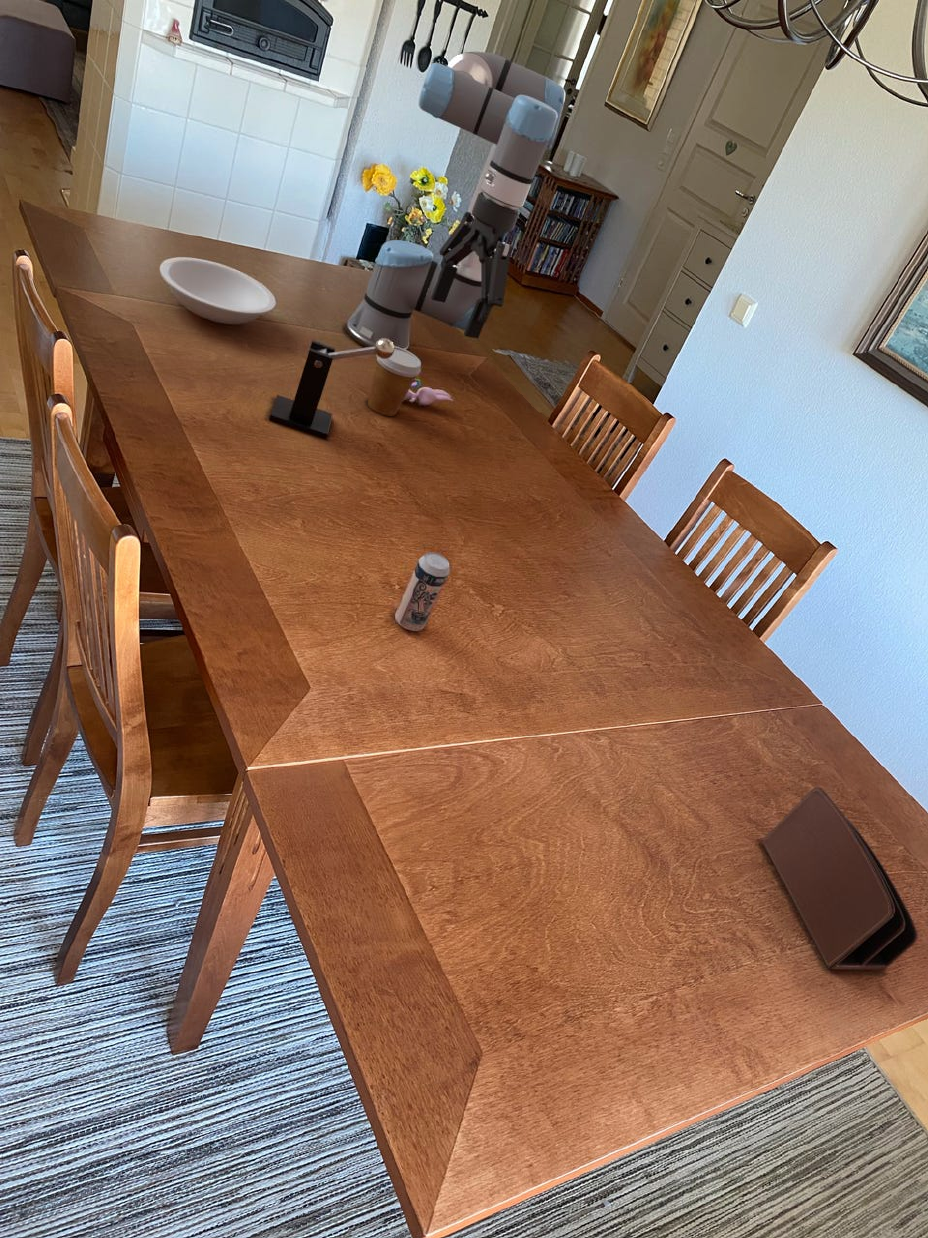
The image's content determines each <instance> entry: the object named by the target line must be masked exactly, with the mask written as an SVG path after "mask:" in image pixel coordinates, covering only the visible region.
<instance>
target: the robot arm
mask: <svg viewBox="0 0 928 1238" xmlns="http://www.w3.org/2000/svg"><path fill="white" fill-rule="evenodd" d="M565 100H566V91H565V89H564V87H563V86H562V85H560V84H558V83H557V82H555V81H554V80H552V79H550V78H549V77H547V76H544V75H542V74H540V73H538V72H536V71H534V70H531V69H529V68H527V67H525V66H523V65H520V64H518V63H515V62H513V61H511V60H509V59H507V58H505V57H504V56H501V55H499V54H495V53H491V52H483V51H465V52H461V53H459V54H457V55H456V56H454V57H453V58H452V59H451V60H450V61H449V63H448V64H447V65H444V64H442V63H439V62H433V63H432V64H431V65H430V67H428V70H427V74H426V76H425V79H424V81H423V85H422V87H421V91H420V94H419V99H418V106H419V109H421V110H422V111H423V112H425V113H427V114H428V115H431V116H432V117H433V118H435V119H439V120H442V121H444V122H446V123H449V124H450V125H452V126H455V127H458V128H459V129H462V130H464V131H466V132H469V133H471V134H473V135H475V136H476V137H479V138H481V139H483V140H484V141H487V142H489V143H492V145H491V148H490V151H489V154H488V156H487V158H486V162H485V164H484V167H483V169H482V172H481V175H480V178H479V180H478V183H477V185H476V188H475V191H474V194H473V196H472V199H471V201H470V204H469V207H468V209H467V211H465V212H464V214H463V216H462V218H461V221H460V222H459V223H458V225H457V226H456V228H455V229H454V230H453V232H452V233H451V234H450V235H449V237H448V238H447V239H446V241H445V242H444V244H443V245H442V246H441V248H440V249H439V255H440V256H442V259H441V262H437V261H435V260H433V259H434V254H433V252H432V251H431V250H430V249H429V248H426V247H425V246H423V245H421V244H418V243H415V242H411V241H406V240H400V239H392V240H388V241H385V242H384V243H383V244H382V245H381V247H380V249H379V252H378V255H377V257H376V258H375V262H374V263H375V264H374V267H373V269H372V273H371V276H370V278H369V281H368V285H367V288H366V291H365V293H364V297H363V299H362V301H361V302H360V303H359V305H358V306H357V308H356V309H355V310H354V312H353V313H352V314H351V316H350V317H349V319H348V320H347V323H346V326H345V331H346V333H347V335H348V336H349V338H351V340H353V341H354V342H356V343H357V344H359V345H361V346H362V347H363V348H367V347H374V346H375V344H376V342H377V341H378V340H379V339H382V338H387V339H389V340H391V341H392V343H393V344H394V346H396V347H399V348H402V349H405V350H407V351H408V348H409V346H410V332H411V331H410V329H411V327H410V326H411V317H412V315H413V311H415V312H419V313H420V314H423V315H426V316H427V317H430V318H432V319H435V320H437V321H439V322H442V323H444V324H447V325H448V326H449V327H454V328H457V329H460V330H462V331H464V332H463V336H464V337H467V338H472V339H479V338H480V335H481V333H482V331H483V329H484V325H485V323H486V322H487V321H488V319H489V316H490V314H491V311H492V309H493V307H499V308H501V307H503V305H504V300H505V294H506V287H507V280H508V279H507V278H508V272H509V266H510V265H509V264H510V260H511V256H512V253H513V250H514V246H513V245H512V244H508V243H505V242H504V240H505V239H504V238H505V235H507V234H508V233H511V232H512V231H513V230H514V229H515V226H516V223H517V220H518V218H519V215H520V208H522V207H523V206H524V204H525V201H526V200H527V196H528V194H529V192H530V189H531V187H532V185H533V180H534V178H535V175H536V173H537V170H538V168H539V166H540V164H541V161H542V159H543V157H544V154H545V152H546V151H547V150H549V151H550V150H551V149H552V147H553V145H554V141H555V139H556V135H557V131H558V127H559V125H560V121H561V117H562V112H563V108H564V105H565V104H564V103H565Z"/></svg>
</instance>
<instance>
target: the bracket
mask: <svg viewBox="0 0 928 1238" xmlns="http://www.w3.org/2000/svg"><path fill="white" fill-rule="evenodd" d="M321 349H327V353H334V352H336V348H335V347H333V346H330V345H327V344H325V343H323V342H322V343H321V342H319V341H316V340H314V339H313V340H311V344H310V347H309V350H308V352H307V357H306V359H305V363H304V366H303V369H302V373H301V376H300V380H299V383H298V386H297V389H296V392H295V396H294V398H293V399H291V398H288V397H285V396H282V395H280V394H277V395H276V397H275V400H274V403H273V406H272V409H271V412H270V415H269V418H268V421H271V422H273V423H276V424H279V425H282V426H285V427H288V428H291V429H294V430H296V431H299V432H303V433H305V434H308V435H311V436H314V437H316V438H320V439H323V440H327V438H328V435H329V431H330V426H331V422H332V417H333V413H331V412H328V411H326V410H323V409H319V408H318V407H319V404H320V401H321V396H322V394H323V392H324V388H325V385H326V382H327V380H328V376H329V372H330V370H331V366H332V363H333V361H334V360H333V356H330V355H327V354H324V353H322V352H319V351H316V350H321Z"/></svg>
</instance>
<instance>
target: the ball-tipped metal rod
mask: <svg viewBox="0 0 928 1238" xmlns="http://www.w3.org/2000/svg"><path fill="white" fill-rule="evenodd" d="M316 351H319V352H322V353H324V354H327V355H330V356H333V361H335V360H341V359H348V358H355V357H361V356H368V355H376V357H377V356H378V357H380V358H382V359H387V358H389V357H391V356H392V355H393V353H394V344H393V343H392V341H391V340H389V339H387V338H382V339H379V340H378V341H377V342H376V344H375V346H374V347H367V348H366V347H362V348H356V349H355V348H354V349H347V350H342V351H335V352H334V353H327V349H321V350H316Z"/></svg>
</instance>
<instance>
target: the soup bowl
mask: <svg viewBox="0 0 928 1238" xmlns="http://www.w3.org/2000/svg"><path fill="white" fill-rule="evenodd" d="M159 273H160V276H161V278H163V280H164V281H165V282H166V283H167V284H168V287H169V289H170V291H171V292H172V294H173V296H174V297H175V298H176V300H177V301H178V302H179V303H180V304H181V305H182V306H183V307H184V308H185V309H187V310H188V311H190V312H191V313H193V314H195V315H196V316H199V317H201V318H203V319H206V320H208V321H212V322H215V323H220V324H225V325H241V324H246V323H249V322H252V321H254V320H256V319H258V318H259V317H260V316H262V315H265V314H267V313H270V312H272V311H273V310H274V309H275V308H276V304H277V303H276V298H275V296H274V294H273V293H272V292H271V291H270V290H269V289H268V288H267V287H266V286H265V285H264V284H263V283H261V281H258V280H256V278H254V277H251V276H250V275H249V274H246V273H245V272H242V271H239V270H238V269H235V268H233V267H230V266H227V265H225V264H222V263H219V262H214V261H211V260H207V259H203V258H195V257H185V256H184V257H182V256H180V257H172V258H168V259H165V260H163V261H162V263H160V266H159Z"/></svg>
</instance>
